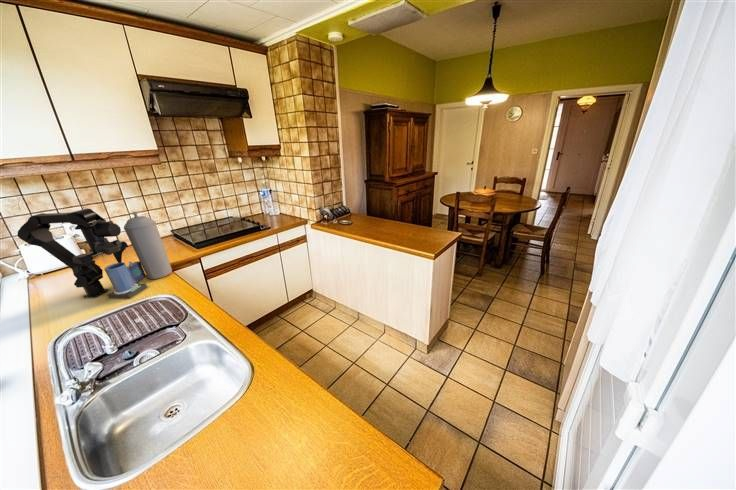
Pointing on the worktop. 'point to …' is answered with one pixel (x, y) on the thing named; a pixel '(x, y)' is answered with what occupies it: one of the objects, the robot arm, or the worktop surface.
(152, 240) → the canister
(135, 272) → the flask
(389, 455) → the worktop surface
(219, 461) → the worktop surface
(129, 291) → the scale
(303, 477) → the worktop surface
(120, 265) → the blue cup
